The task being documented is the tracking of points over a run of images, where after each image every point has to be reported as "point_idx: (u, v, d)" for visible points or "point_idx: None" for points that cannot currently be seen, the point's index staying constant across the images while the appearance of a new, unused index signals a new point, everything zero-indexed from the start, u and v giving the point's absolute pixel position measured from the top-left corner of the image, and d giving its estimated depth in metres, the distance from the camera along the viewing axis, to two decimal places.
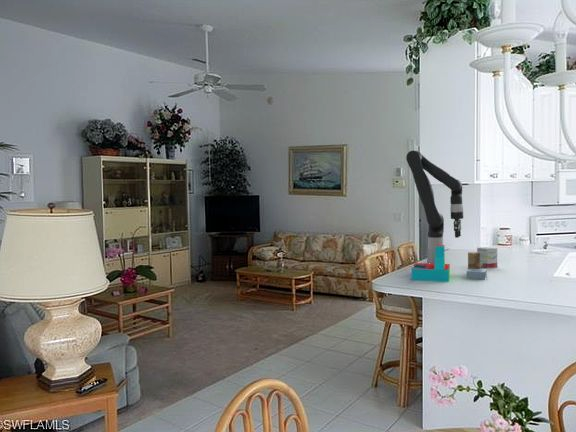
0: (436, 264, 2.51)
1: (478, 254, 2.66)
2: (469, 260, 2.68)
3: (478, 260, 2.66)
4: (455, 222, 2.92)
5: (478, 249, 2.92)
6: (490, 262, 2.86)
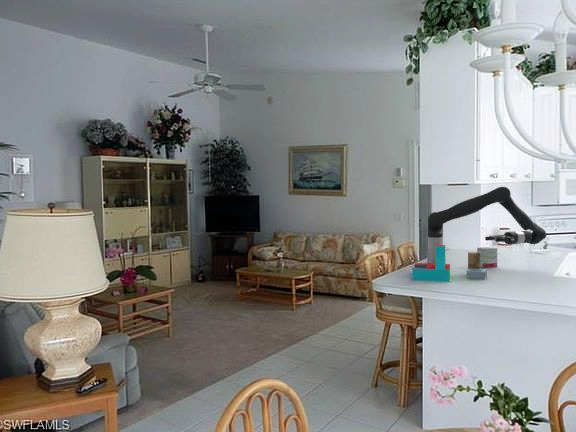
0: (437, 264, 2.51)
1: (478, 254, 2.66)
2: (469, 260, 2.68)
3: (478, 260, 2.66)
4: (513, 239, 2.67)
5: (478, 249, 2.92)
6: (490, 262, 2.86)
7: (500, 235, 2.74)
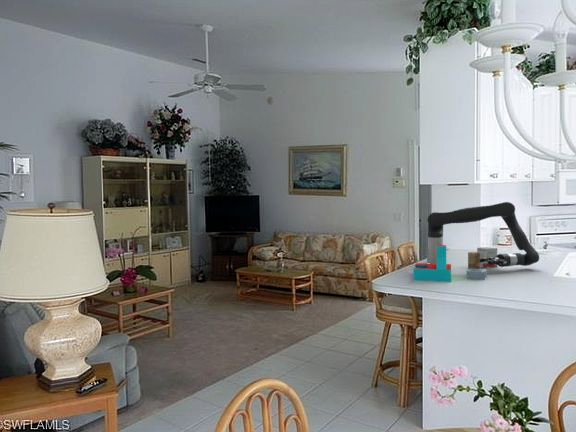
0: (438, 264, 2.50)
1: (478, 254, 2.66)
2: (469, 260, 2.68)
3: (478, 260, 2.66)
4: (505, 262, 2.66)
5: (478, 249, 2.92)
6: None
7: (493, 257, 2.73)
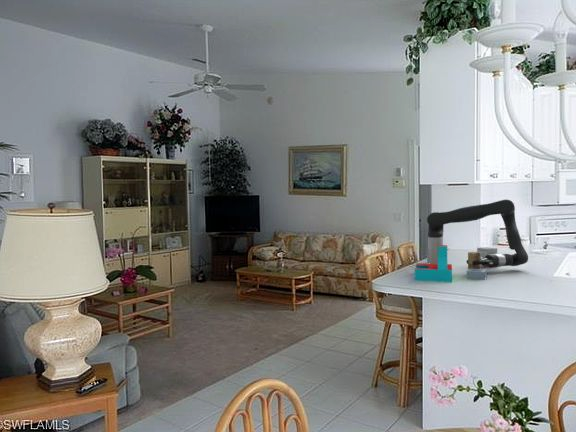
0: (439, 264, 2.50)
1: (478, 254, 2.66)
2: (469, 260, 2.68)
3: (478, 260, 2.66)
4: (491, 262, 2.64)
5: (478, 249, 2.92)
6: None
7: (481, 258, 2.71)
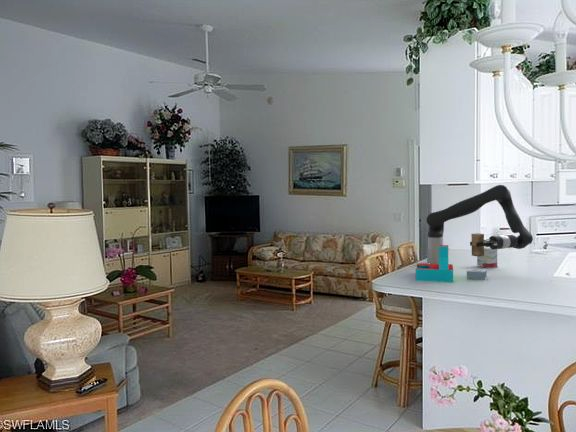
0: (440, 264, 2.50)
1: (482, 235, 2.57)
2: (473, 242, 2.59)
3: (482, 241, 2.57)
4: (495, 244, 2.54)
5: None
6: (490, 262, 2.86)
7: (485, 240, 2.61)
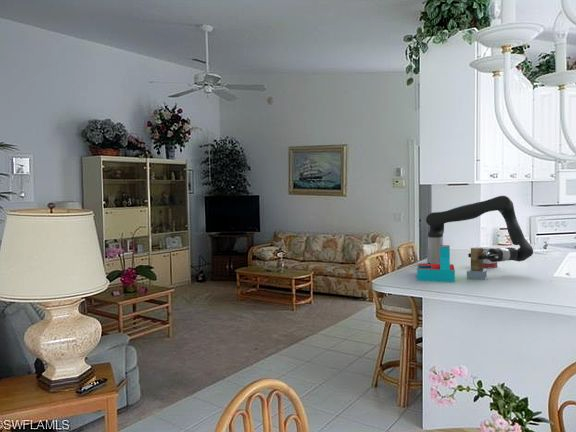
0: (442, 264, 2.49)
1: (481, 250, 2.54)
2: (472, 256, 2.56)
3: None
4: (497, 256, 2.52)
5: None
6: (490, 262, 2.86)
7: (484, 252, 2.59)
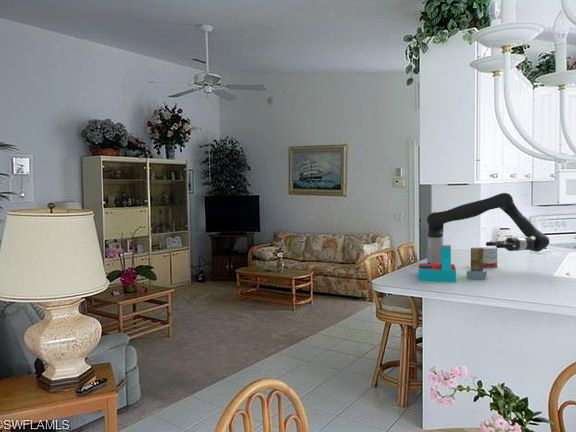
0: (443, 264, 2.49)
1: (481, 250, 2.54)
2: (472, 256, 2.56)
3: (481, 256, 2.54)
4: (514, 245, 2.59)
5: None
6: (490, 262, 2.86)
7: (501, 241, 2.66)
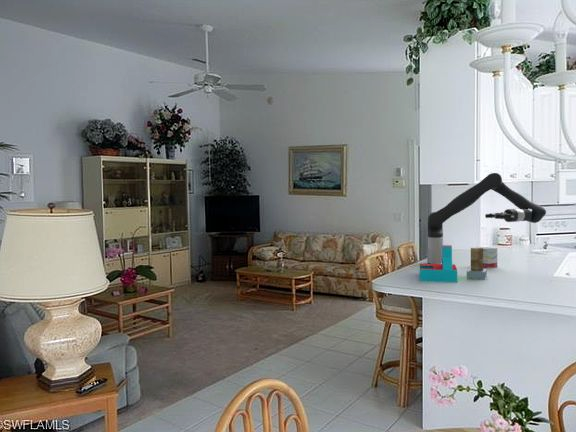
0: (444, 265, 2.49)
1: (481, 250, 2.54)
2: (472, 256, 2.56)
3: (481, 256, 2.54)
4: (513, 216, 2.68)
5: None
6: (490, 262, 2.86)
7: (500, 213, 2.76)
